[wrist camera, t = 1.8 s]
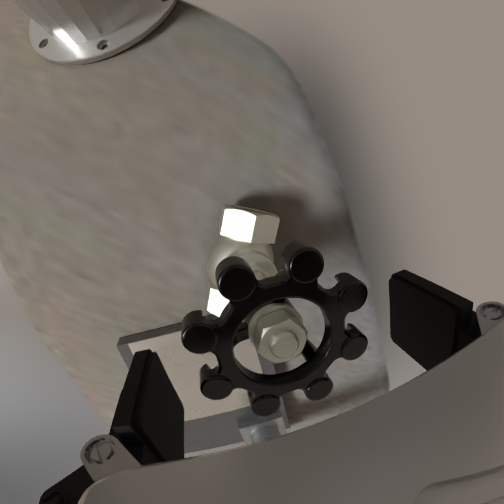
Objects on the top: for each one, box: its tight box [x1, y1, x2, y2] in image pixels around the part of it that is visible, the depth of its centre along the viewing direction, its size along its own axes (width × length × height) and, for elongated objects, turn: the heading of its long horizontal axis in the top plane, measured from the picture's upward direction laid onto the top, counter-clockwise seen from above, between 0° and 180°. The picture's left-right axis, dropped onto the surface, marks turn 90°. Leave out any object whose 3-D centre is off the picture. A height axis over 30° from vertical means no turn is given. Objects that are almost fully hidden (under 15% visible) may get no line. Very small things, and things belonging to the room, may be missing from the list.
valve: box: [181, 204, 368, 416], centre depth 15 cm, size 7×7×12 cm
